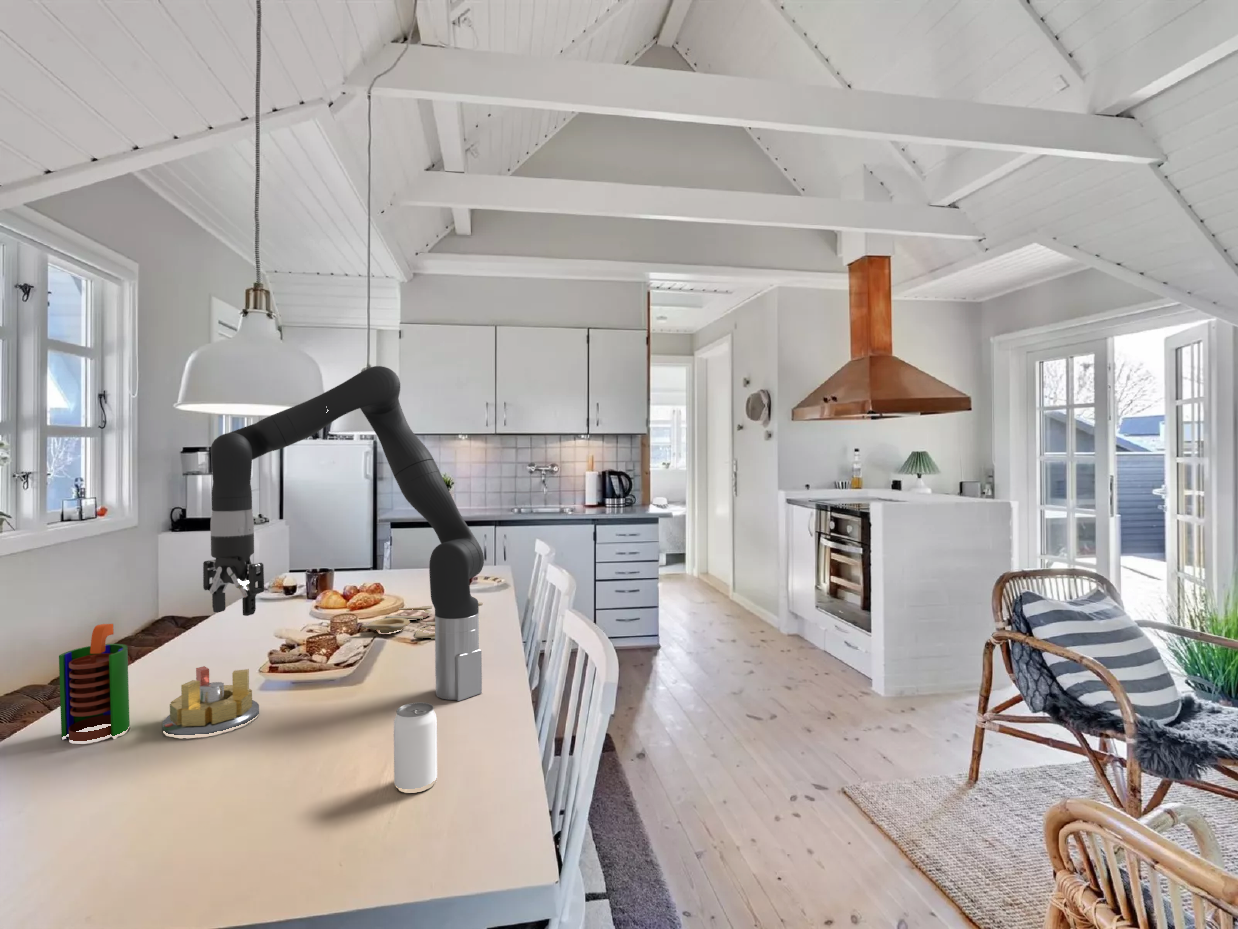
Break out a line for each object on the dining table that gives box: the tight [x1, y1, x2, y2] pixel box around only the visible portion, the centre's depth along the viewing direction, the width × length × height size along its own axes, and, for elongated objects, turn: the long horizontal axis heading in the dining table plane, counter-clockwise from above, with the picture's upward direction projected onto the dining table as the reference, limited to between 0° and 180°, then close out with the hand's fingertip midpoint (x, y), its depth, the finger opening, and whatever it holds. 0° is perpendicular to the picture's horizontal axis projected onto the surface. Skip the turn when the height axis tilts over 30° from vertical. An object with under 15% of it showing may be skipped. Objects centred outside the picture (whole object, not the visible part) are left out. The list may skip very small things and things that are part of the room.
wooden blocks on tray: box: [169, 665, 253, 726], centre depth 129 cm, size 13×13×8 cm
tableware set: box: [361, 602, 484, 640], centre depth 200 cm, size 35×29×4 cm
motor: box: [58, 623, 131, 741], centre depth 123 cm, size 10×9×20 cm
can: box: [393, 701, 438, 789], centre depth 104 cm, size 6×6×12 cm
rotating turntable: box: [162, 681, 260, 735], centre depth 129 cm, size 16×16×7 cm
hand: (233, 613), depth 133 cm, fingers open, 7 cm apart
